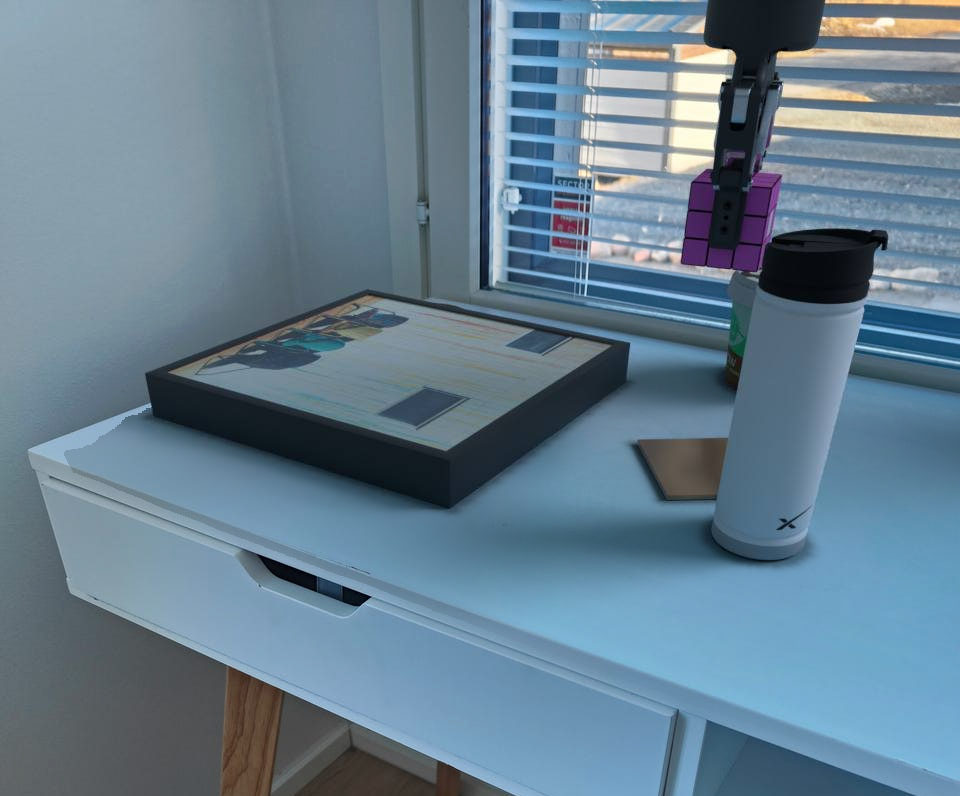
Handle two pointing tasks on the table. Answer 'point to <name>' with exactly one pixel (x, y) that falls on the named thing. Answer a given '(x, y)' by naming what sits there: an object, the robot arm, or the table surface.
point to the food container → (739, 321)
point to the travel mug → (791, 386)
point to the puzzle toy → (753, 228)
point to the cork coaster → (686, 466)
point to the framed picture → (394, 390)
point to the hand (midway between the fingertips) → (728, 237)
